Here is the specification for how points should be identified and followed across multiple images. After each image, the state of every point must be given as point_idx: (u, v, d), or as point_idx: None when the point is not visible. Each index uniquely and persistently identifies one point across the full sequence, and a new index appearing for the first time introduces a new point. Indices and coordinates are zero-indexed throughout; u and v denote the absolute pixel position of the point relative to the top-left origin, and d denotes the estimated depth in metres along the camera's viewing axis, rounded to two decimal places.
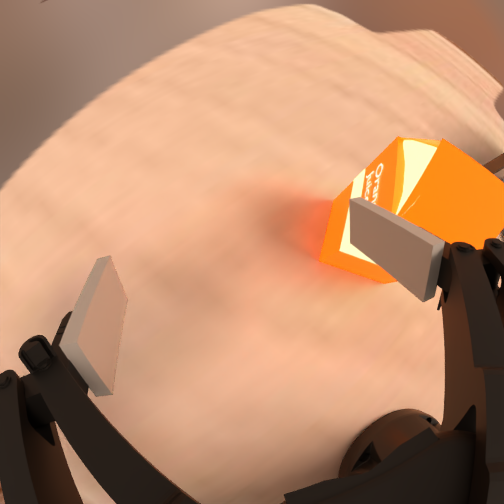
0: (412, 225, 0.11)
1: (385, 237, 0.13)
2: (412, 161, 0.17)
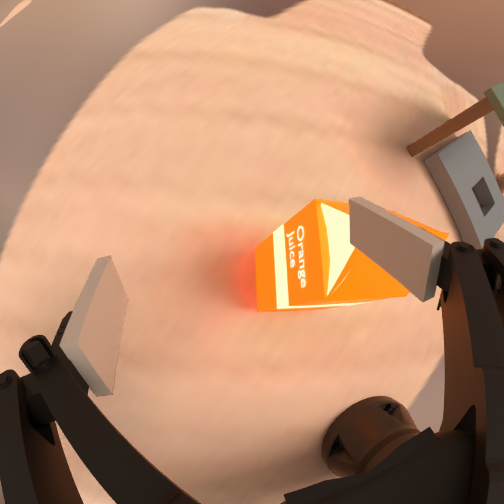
0: (412, 225, 0.11)
1: (385, 237, 0.13)
2: (335, 228, 0.20)
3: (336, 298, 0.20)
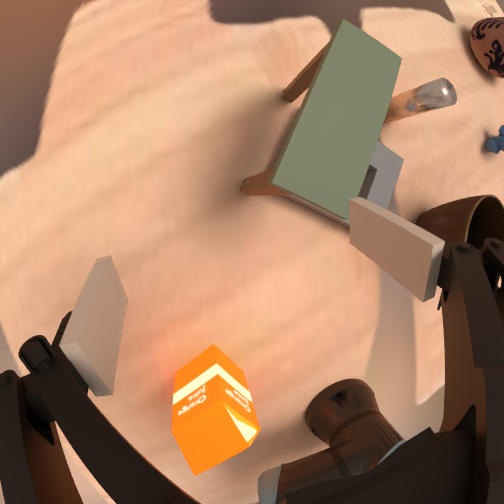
0: (412, 225, 0.11)
1: (385, 237, 0.13)
2: None
3: None
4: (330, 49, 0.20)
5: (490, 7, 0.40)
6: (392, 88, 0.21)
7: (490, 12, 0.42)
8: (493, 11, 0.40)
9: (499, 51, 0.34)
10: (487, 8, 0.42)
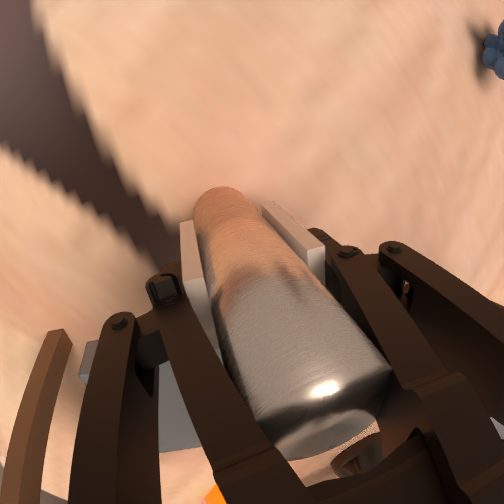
0: (301, 229, 0.13)
1: None
2: None
3: None
4: None
5: None
6: None
7: None
8: None
9: None
10: None
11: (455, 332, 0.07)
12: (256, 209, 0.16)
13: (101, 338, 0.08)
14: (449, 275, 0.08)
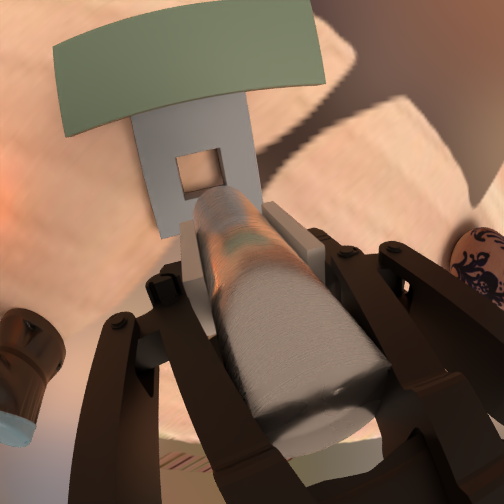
0: (301, 229, 0.13)
1: None
2: None
3: None
4: None
5: None
6: (265, 85, 0.17)
7: None
8: None
9: (479, 264, 0.46)
10: None
11: (455, 331, 0.07)
12: None
13: (101, 338, 0.08)
14: (449, 274, 0.08)
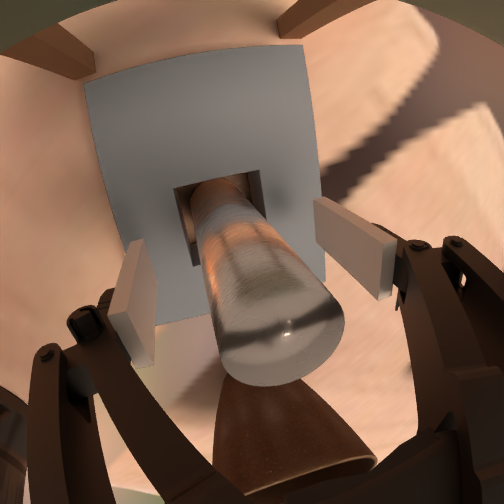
0: (367, 224, 0.12)
1: (343, 235, 0.13)
2: None
3: None
4: None
5: None
6: None
7: None
8: None
9: None
10: None
11: (496, 324, 0.06)
12: (244, 196, 0.19)
13: (33, 371, 0.07)
14: (500, 272, 0.07)
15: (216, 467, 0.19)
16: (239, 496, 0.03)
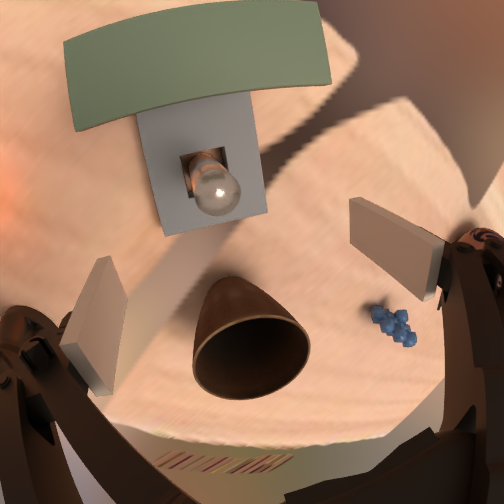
0: (412, 225, 0.11)
1: (385, 237, 0.13)
2: None
3: None
4: (256, 0, 0.14)
5: None
6: (273, 84, 0.17)
7: None
8: None
9: None
10: None
11: None
12: None
13: None
14: None
15: (196, 333, 0.35)
16: None
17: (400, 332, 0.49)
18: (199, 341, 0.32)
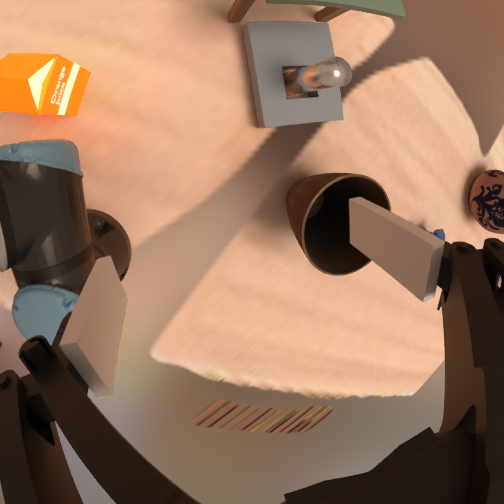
0: (412, 225, 0.11)
1: (385, 237, 0.13)
2: None
3: None
4: None
5: None
6: (379, 9, 0.22)
7: None
8: None
9: (495, 193, 0.52)
10: None
11: None
12: None
13: None
14: None
15: (299, 201, 0.40)
16: None
17: None
18: (310, 198, 0.37)
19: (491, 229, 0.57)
